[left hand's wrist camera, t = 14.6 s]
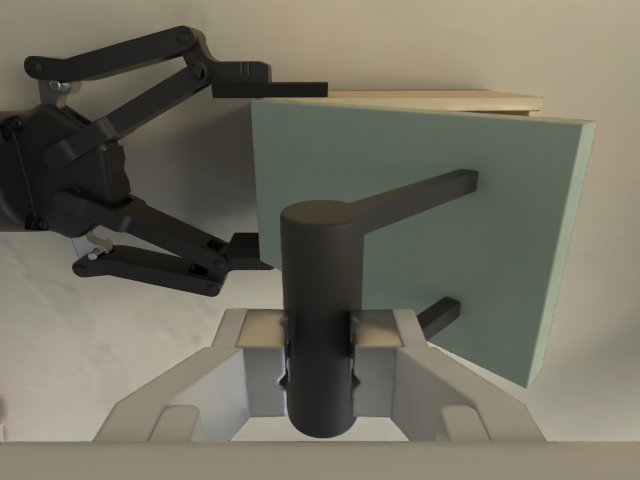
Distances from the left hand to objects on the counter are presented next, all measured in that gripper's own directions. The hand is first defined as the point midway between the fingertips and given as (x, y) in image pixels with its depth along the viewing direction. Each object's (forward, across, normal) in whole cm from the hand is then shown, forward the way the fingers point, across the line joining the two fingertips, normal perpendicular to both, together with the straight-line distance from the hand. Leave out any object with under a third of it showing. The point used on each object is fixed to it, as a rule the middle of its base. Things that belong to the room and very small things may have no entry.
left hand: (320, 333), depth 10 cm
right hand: (+18, 0, 0) cm, 18 cm away
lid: (+10, +3, 0) cm, 10 cm away
